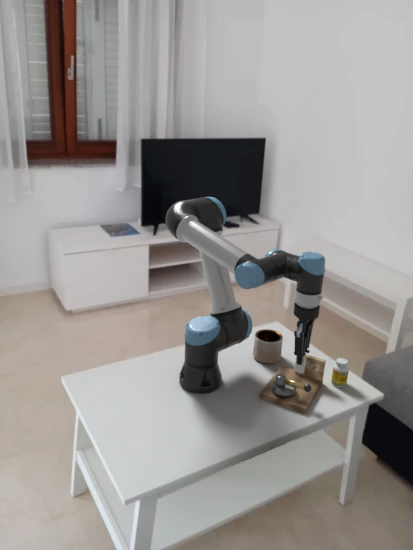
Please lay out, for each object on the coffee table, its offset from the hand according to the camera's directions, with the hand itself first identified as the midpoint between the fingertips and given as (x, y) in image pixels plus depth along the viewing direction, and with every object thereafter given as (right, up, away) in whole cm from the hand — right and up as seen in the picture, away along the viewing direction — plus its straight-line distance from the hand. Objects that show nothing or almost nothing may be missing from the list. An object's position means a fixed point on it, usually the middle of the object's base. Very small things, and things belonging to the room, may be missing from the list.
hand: (299, 371), depth 150 cm
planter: (-6, -2, +35) cm, 36 cm away
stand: (0, -10, +15) cm, 18 cm away
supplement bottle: (+18, -9, +20) cm, 29 cm away
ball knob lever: (-1, -10, +10) cm, 14 cm away
